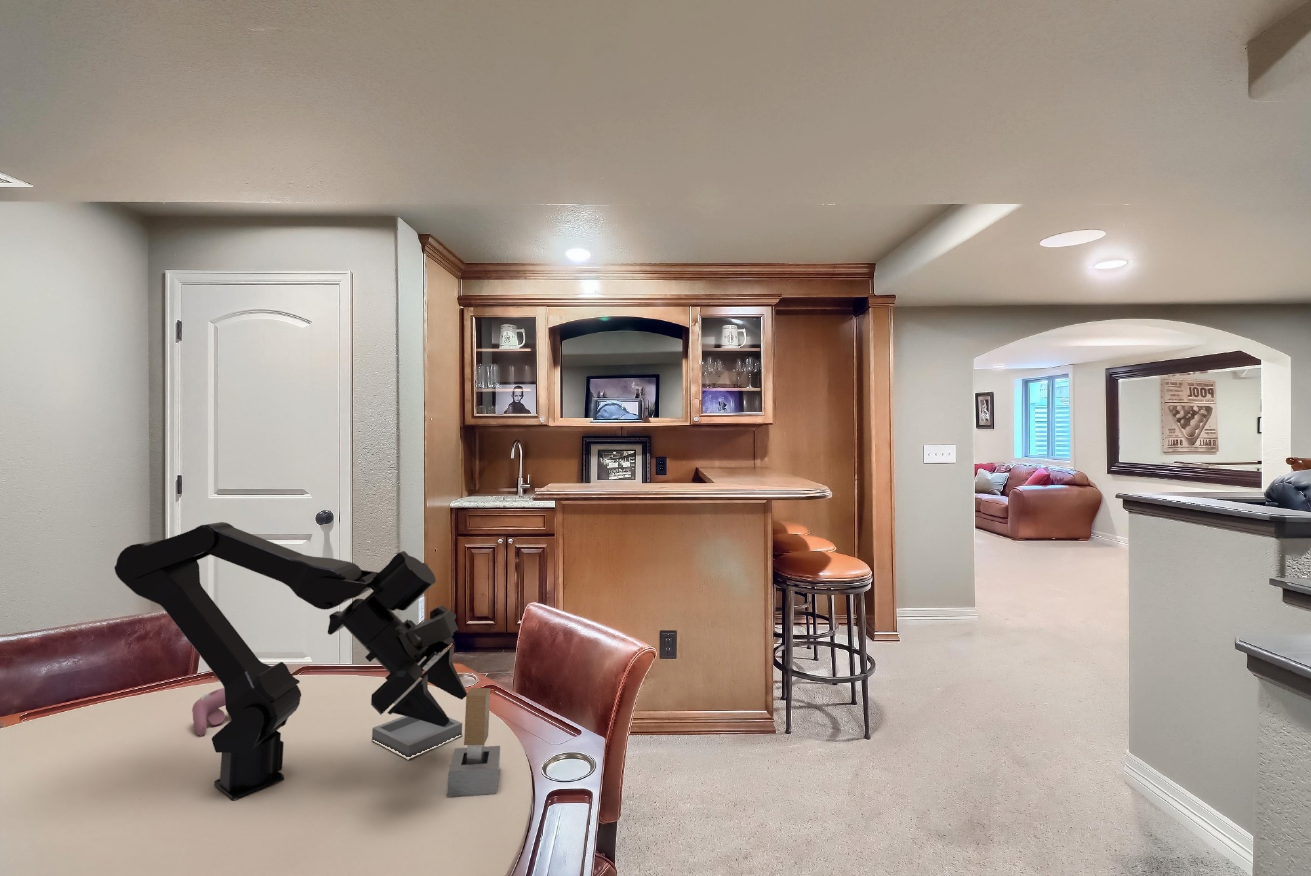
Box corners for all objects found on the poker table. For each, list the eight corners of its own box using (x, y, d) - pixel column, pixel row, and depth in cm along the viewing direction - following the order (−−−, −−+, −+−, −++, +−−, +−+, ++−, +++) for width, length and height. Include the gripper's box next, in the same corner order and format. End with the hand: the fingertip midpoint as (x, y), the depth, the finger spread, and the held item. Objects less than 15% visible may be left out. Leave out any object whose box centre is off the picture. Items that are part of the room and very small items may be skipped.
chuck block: (496, 793, 82) (497, 768, 82) (447, 797, 81) (448, 771, 81) (499, 768, 89) (500, 745, 89) (453, 772, 87) (454, 748, 88)
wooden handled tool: (481, 787, 84) (486, 695, 84) (461, 787, 83) (466, 695, 84) (486, 777, 86) (490, 688, 87) (467, 777, 86) (471, 687, 87)
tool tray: (408, 760, 90) (409, 745, 90) (371, 741, 96) (372, 727, 96) (461, 736, 99) (462, 723, 99) (425, 720, 104) (425, 707, 104)
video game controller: (258, 721, 105) (255, 681, 107) (267, 717, 102) (263, 676, 105) (190, 740, 97) (187, 697, 99) (197, 736, 95) (195, 691, 97)
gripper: (399, 609, 76) (482, 695, 76) (443, 580, 95) (509, 649, 95) (334, 670, 75) (418, 757, 76) (391, 629, 94) (458, 698, 94)
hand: (456, 709), depth 85 cm, fingers open, 9 cm apart
